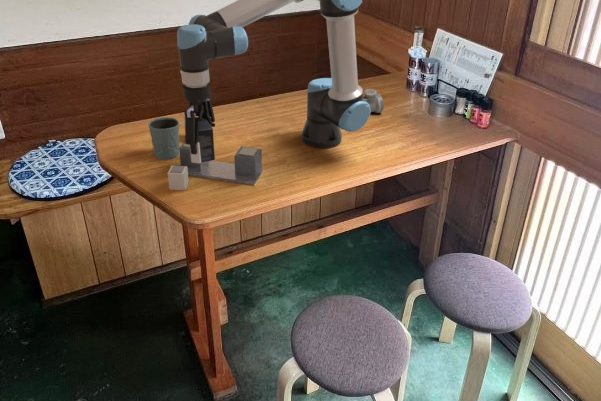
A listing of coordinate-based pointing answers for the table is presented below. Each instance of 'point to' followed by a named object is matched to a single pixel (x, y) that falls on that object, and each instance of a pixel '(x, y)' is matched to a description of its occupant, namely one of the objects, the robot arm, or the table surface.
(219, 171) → the rail plate
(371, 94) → the pipe fitting
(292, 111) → the table surface
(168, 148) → the grey green plant pot
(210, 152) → the box
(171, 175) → the block
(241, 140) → the table surface
